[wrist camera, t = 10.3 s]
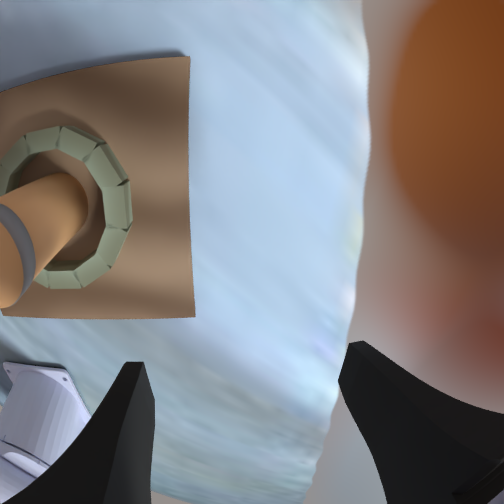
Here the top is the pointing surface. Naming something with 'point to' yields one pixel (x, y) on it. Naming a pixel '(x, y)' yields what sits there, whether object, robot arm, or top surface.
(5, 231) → the peg
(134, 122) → the dock socket
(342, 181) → the top surface
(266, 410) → the top surface
